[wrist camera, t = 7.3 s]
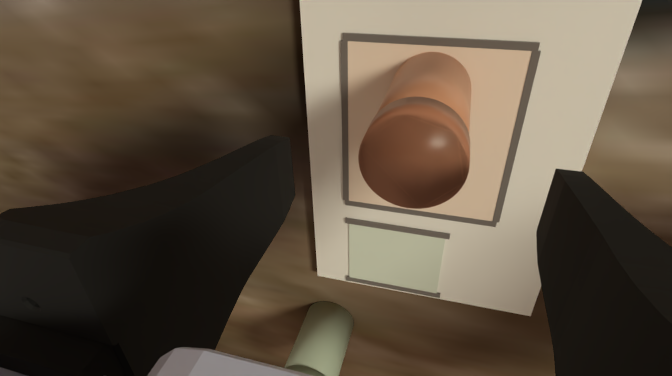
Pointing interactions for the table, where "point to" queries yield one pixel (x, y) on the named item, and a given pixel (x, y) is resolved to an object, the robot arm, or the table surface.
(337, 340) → the sage marker
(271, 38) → the table surface
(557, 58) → the white flat panel
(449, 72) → the brown rounded cylinder
